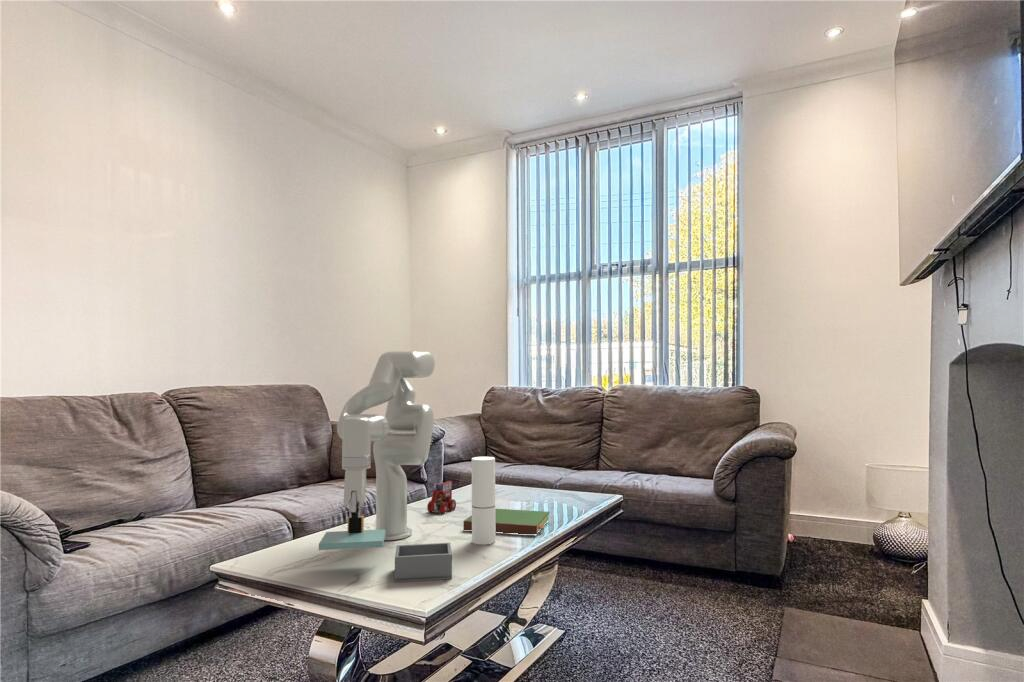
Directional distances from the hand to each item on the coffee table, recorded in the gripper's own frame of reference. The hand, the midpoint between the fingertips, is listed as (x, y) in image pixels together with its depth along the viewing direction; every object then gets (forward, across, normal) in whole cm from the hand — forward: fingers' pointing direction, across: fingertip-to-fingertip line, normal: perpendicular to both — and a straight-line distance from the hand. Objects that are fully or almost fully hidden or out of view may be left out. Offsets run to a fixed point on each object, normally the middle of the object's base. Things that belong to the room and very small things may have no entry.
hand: (355, 531), depth 158 cm
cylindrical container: (+9, -14, +36) cm, 40 cm away
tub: (+9, +10, +18) cm, 23 cm away
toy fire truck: (+8, -55, +25) cm, 61 cm away
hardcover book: (+9, -30, +46) cm, 56 cm away
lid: (+1, +5, 0) cm, 5 cm away
